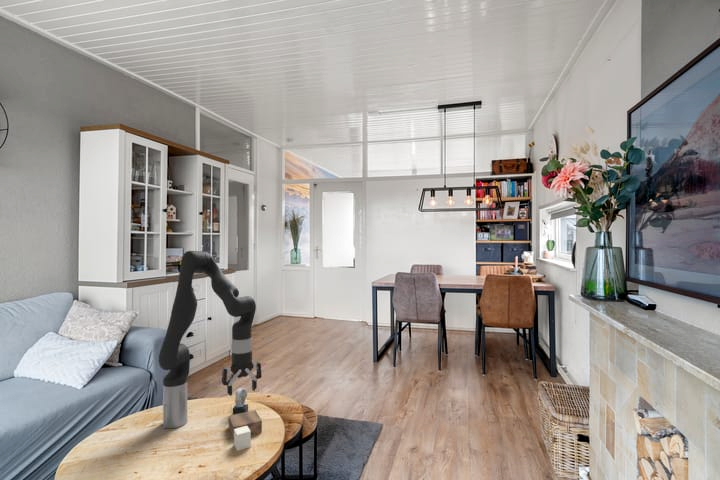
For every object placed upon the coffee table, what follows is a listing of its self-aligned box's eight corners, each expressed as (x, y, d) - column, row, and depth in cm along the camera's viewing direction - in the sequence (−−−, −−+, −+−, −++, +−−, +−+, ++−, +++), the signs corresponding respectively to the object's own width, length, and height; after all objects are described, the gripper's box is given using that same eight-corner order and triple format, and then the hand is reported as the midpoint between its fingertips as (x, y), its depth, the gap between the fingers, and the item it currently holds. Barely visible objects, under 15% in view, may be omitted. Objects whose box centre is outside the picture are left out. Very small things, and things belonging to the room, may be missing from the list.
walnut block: (233, 439, 146) (233, 427, 146) (228, 427, 156) (228, 415, 156) (261, 432, 151) (261, 420, 151) (255, 421, 161) (255, 409, 161)
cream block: (237, 451, 138) (237, 434, 138) (234, 444, 142) (234, 429, 142) (250, 447, 140) (250, 431, 140) (247, 441, 145) (247, 425, 145)
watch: (249, 409, 172) (249, 385, 172) (243, 417, 164) (243, 392, 164) (237, 409, 172) (237, 385, 172) (231, 417, 164) (230, 392, 164)
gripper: (257, 344, 148) (258, 385, 148) (220, 350, 141) (220, 393, 141) (263, 349, 142) (263, 392, 142) (224, 355, 135) (224, 400, 134)
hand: (242, 392), depth 141 cm, fingers open, 8 cm apart
